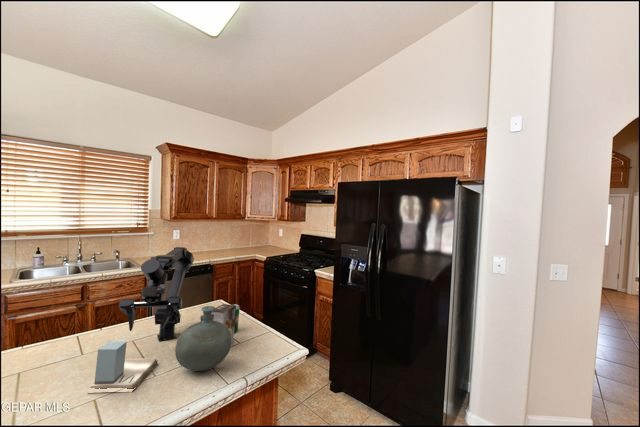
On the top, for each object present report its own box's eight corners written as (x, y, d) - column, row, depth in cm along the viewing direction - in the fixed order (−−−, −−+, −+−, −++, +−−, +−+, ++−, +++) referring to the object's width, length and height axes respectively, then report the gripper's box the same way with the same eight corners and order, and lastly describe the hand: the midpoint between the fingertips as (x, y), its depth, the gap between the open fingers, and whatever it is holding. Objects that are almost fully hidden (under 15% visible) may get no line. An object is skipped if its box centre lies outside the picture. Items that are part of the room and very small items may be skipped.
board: (120, 364, 89) (121, 358, 89) (157, 363, 91) (157, 357, 91) (87, 393, 73) (88, 386, 74) (132, 392, 75) (133, 385, 75)
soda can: (226, 329, 122) (228, 304, 123) (237, 328, 124) (239, 303, 125) (226, 334, 118) (229, 307, 118) (238, 333, 120) (240, 307, 120)
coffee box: (220, 340, 111) (223, 303, 112) (233, 342, 110) (236, 305, 111) (207, 350, 102) (210, 309, 103) (221, 353, 101) (224, 311, 102)
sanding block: (105, 374, 80) (109, 341, 80) (123, 373, 80) (126, 341, 81) (94, 384, 75) (97, 349, 75) (113, 383, 75) (116, 349, 76)
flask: (184, 358, 94) (191, 298, 94) (231, 362, 94) (238, 303, 94) (167, 378, 82) (175, 311, 82) (220, 383, 83) (228, 316, 83)
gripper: (121, 276, 87) (106, 323, 77) (182, 275, 93) (176, 318, 84) (128, 290, 95) (115, 335, 85) (184, 288, 101) (178, 329, 92)
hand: (146, 329), depth 86 cm, fingers open, 9 cm apart
